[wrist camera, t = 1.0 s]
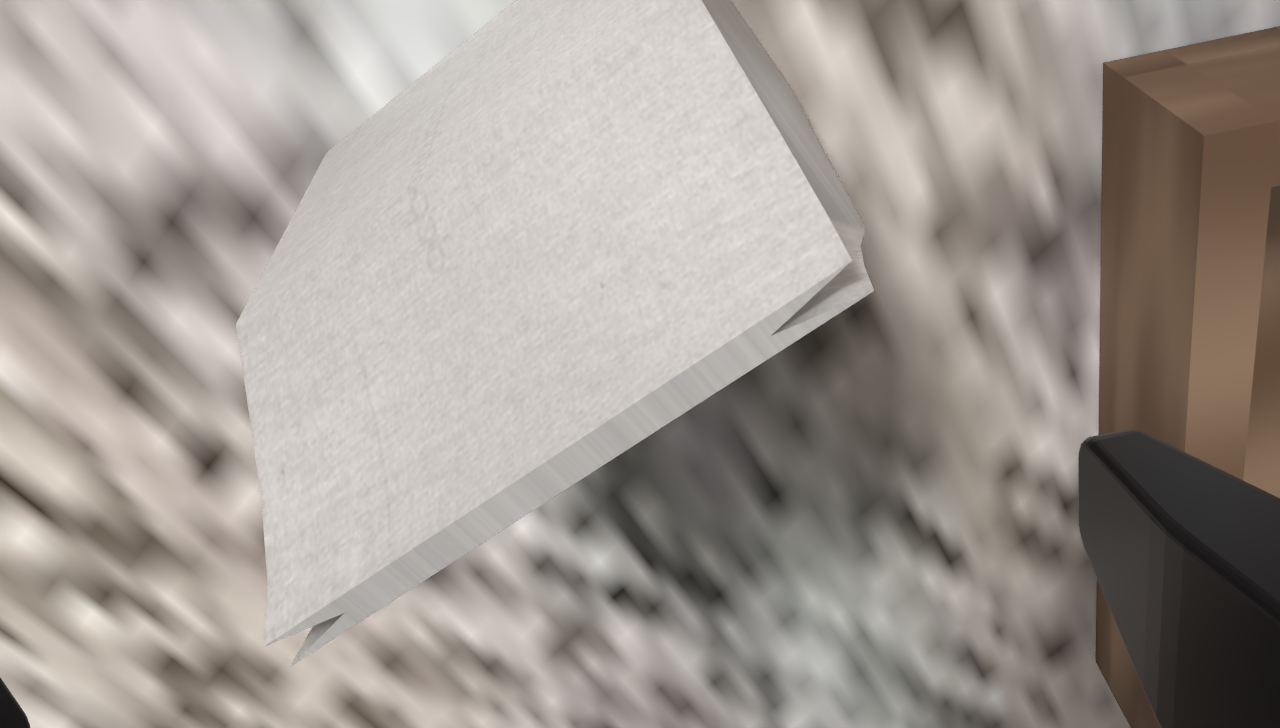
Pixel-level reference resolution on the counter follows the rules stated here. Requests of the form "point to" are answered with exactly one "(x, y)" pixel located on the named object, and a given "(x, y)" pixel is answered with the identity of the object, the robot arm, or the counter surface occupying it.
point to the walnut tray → (1191, 271)
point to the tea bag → (525, 286)
